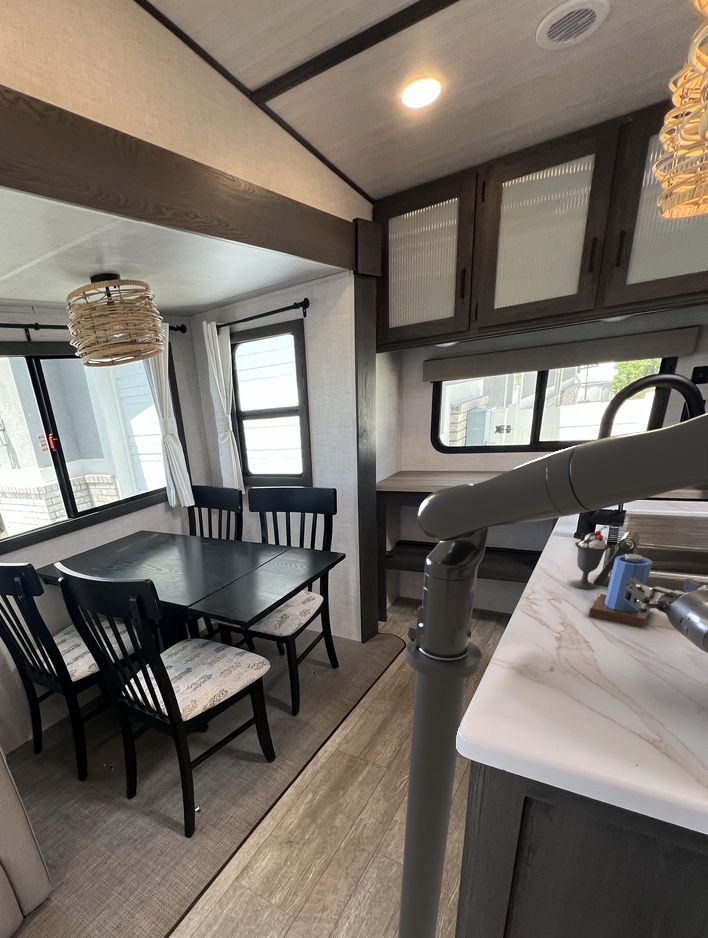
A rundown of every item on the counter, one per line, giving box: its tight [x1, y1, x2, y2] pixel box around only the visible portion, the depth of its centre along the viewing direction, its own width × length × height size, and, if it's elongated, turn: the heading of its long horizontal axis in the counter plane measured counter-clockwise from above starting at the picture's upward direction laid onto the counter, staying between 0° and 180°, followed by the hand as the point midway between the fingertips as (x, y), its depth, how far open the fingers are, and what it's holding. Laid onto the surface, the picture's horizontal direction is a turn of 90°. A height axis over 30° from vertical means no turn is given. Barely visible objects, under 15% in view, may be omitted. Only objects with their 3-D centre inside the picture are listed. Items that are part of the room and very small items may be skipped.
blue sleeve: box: [605, 554, 654, 612], centre depth 94 cm, size 6×6×10 cm
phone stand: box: [592, 531, 640, 588], centre depth 108 cm, size 9×6×12 cm, turn 46°
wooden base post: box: [588, 553, 651, 629], centre depth 95 cm, size 9×9×13 cm
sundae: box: [570, 525, 611, 590], centre depth 109 cm, size 7×7×15 cm
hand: (657, 583), depth 84 cm, fingers open, 8 cm apart
